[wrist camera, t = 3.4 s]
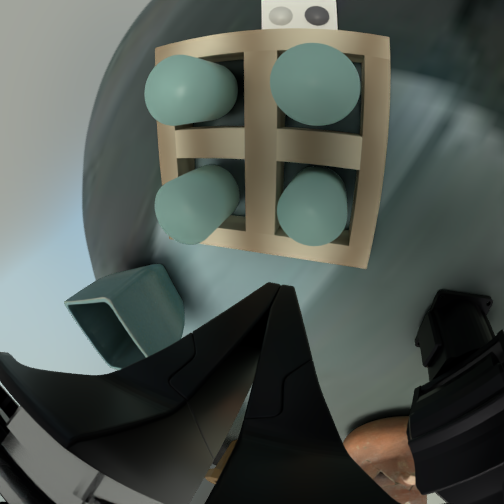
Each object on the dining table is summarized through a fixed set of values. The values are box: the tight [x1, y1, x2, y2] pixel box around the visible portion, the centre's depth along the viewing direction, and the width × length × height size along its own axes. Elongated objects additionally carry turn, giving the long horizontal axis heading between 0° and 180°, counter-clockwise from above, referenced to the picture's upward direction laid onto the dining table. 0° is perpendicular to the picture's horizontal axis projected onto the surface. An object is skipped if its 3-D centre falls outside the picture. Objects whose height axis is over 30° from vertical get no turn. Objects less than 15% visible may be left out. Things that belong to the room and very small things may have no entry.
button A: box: [277, 166, 347, 246], centre depth 17 cm, size 4×4×4 cm
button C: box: [155, 165, 240, 245], centre depth 17 cm, size 4×4×4 cm
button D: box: [145, 55, 238, 126], centre depth 13 cm, size 4×4×4 cm
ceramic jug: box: [343, 416, 427, 504], centre depth 24 cm, size 18×14×14 cm
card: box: [262, 0, 338, 30], centre depth 12 cm, size 5×5×1 cm
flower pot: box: [64, 264, 185, 370], centre depth 25 cm, size 9×9×9 cm
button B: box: [270, 43, 360, 126], centre depth 12 cm, size 4×4×4 cm
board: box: [155, 28, 390, 269], centre depth 17 cm, size 15×15×2 cm
